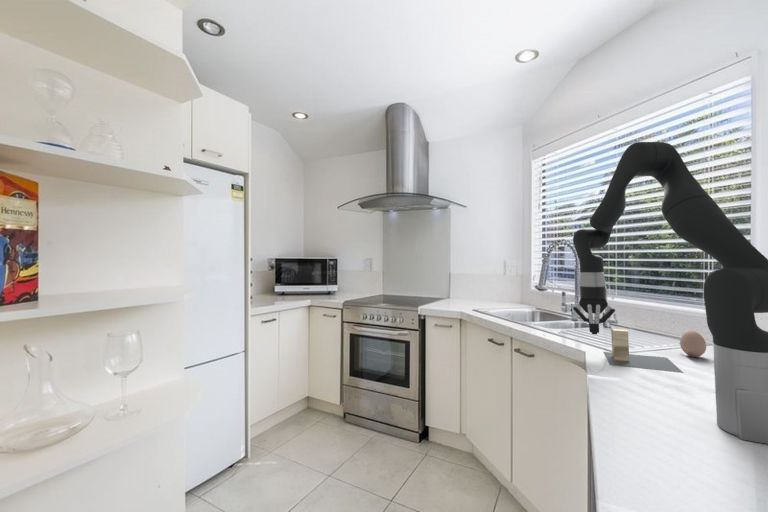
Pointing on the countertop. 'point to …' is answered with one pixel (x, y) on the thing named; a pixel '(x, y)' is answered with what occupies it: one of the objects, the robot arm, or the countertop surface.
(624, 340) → the birch block
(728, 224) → the robot arm
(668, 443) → the countertop surface
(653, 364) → the rubber mat
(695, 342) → the egg
